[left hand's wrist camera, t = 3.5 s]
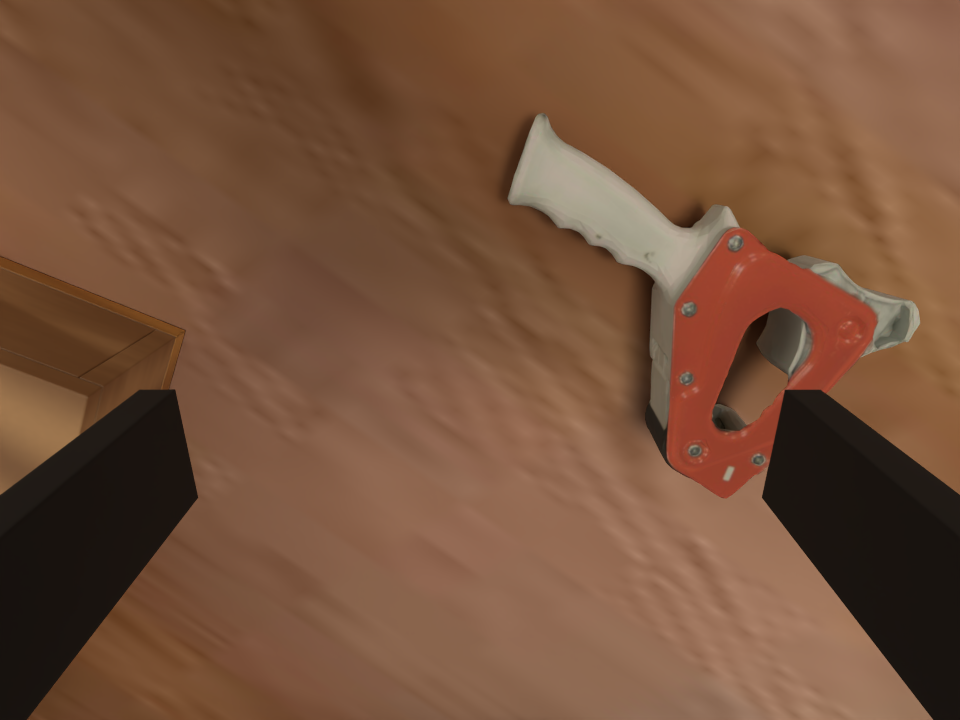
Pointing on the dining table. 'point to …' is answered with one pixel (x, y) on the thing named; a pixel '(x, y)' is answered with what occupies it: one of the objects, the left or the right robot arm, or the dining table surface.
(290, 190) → the dining table surface
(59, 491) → the left robot arm
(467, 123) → the dining table surface
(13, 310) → the brown wooden block
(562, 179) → the tape dispenser
